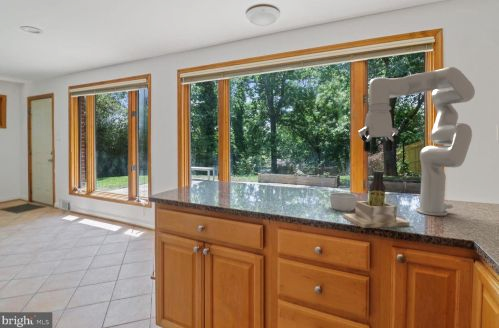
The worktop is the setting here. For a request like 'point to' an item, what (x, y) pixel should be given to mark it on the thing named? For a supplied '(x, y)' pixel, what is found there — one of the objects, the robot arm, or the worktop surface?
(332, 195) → the ramekin
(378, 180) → the sauce bottle
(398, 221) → the bottle caddy
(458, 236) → the worktop surface
